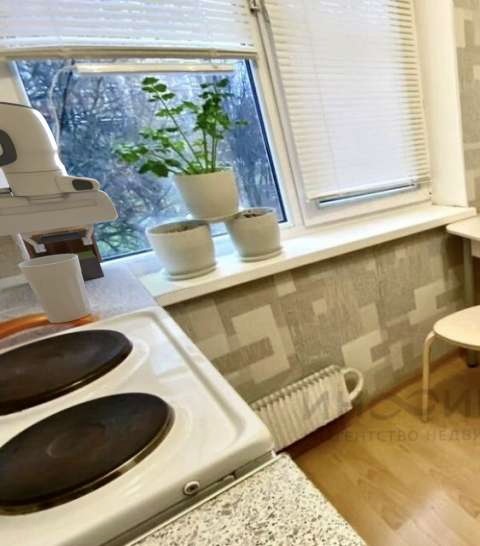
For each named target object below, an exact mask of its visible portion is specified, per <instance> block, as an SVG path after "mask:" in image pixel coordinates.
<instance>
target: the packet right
mask: <svg viewBox="0 0 480 546" xmlns="http://www.w3.org/2000/svg"><path fill="white" fill-rule="evenodd" d="M76 255H78V259H79V260H80V259H86V258H92V257H93V256H94V253H93V250H91V251H85V252H79V253H76Z"/></svg>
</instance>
